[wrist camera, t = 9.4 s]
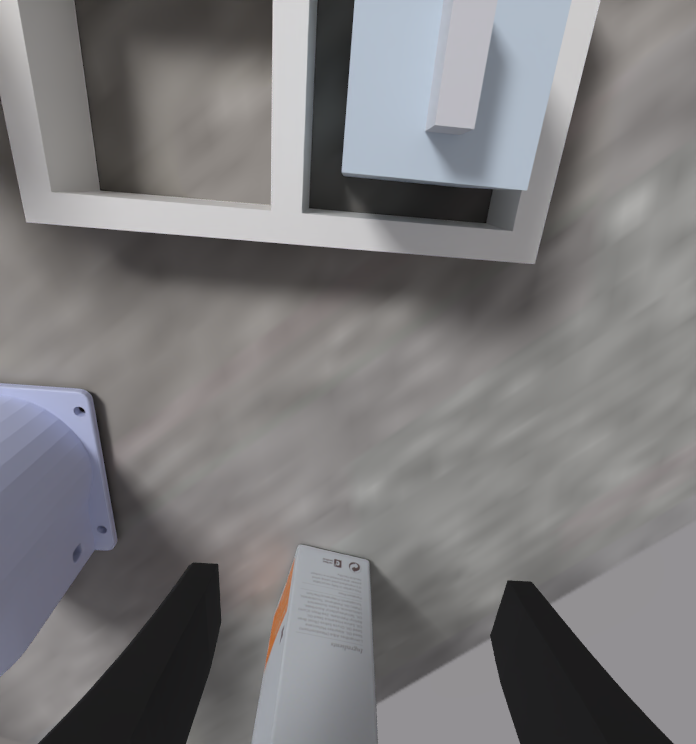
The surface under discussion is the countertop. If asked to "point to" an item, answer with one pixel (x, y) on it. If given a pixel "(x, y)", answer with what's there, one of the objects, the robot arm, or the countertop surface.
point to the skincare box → (320, 655)
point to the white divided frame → (288, 151)
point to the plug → (450, 90)
